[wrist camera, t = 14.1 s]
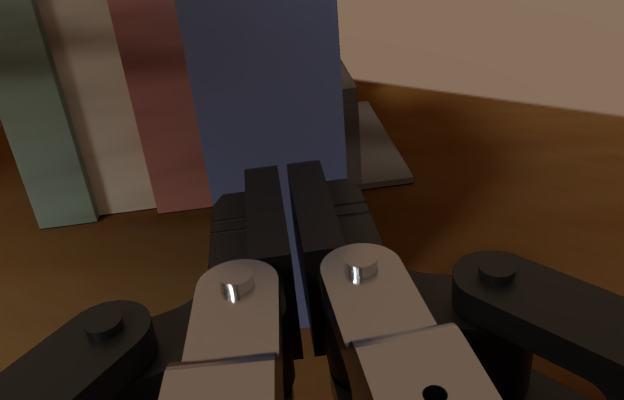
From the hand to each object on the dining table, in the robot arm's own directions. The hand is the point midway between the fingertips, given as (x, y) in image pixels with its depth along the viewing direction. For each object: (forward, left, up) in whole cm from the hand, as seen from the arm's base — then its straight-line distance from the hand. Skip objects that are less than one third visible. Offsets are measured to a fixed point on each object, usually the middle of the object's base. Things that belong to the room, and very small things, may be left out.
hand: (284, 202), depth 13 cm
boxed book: (-4, +8, -7) cm, 11 cm away
